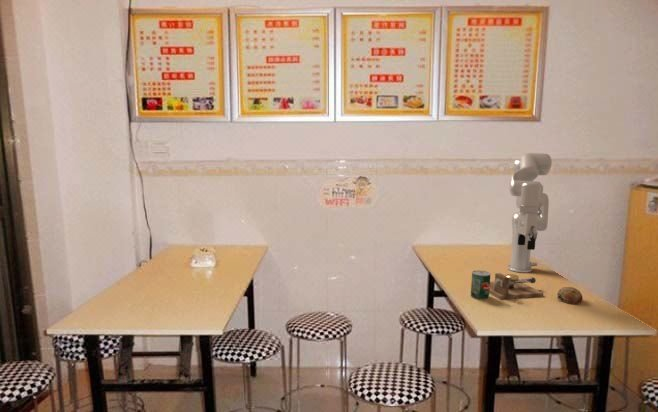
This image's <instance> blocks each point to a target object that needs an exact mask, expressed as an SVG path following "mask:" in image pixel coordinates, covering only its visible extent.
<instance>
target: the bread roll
mask: <svg viewBox="0 0 658 412" xmlns="http://www.w3.org/2000/svg"><path fill="white" fill-rule="evenodd" d="M556 295H557V300H558V301H560V302H562V303H566V304H569V305H579V304H582V302H583V294H582V293H581V291H580V290H578V289H577V288H575V287H572V286H565V287H561V288H560V289H559V290H558V291H557V293H556Z"/></svg>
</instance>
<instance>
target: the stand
mask: <svg viewBox="0 0 658 412" xmlns="http://www.w3.org/2000/svg"><path fill="white" fill-rule="evenodd" d="M505 275H506V274H503V273H498V272H497V273H495V274H494V276H495V277H494V281H490V289H489V295H492V296H493V297H495V298H497V299H499V300H511V299H524V298H538V297H544V292H543V291H541V290H538V289H536V288H534V287H532V286H529V285H528V284H527V283H514V288H511V289H510V288H509V277H507V276H505Z"/></svg>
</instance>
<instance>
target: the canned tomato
mask: <svg viewBox="0 0 658 412" xmlns="http://www.w3.org/2000/svg"><path fill="white" fill-rule="evenodd" d="M490 282H491V272H489V271H486V270H485V271H484V270H472V272H471V282H470V283H471V285H470V297H471V298H472V299H476V300H479V301H480V300H481V301H482V300H484V301H486V300H489V299H490V293H489V289H490ZM485 299H486V300H485Z"/></svg>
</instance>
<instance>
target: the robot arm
mask: <svg viewBox="0 0 658 412" xmlns="http://www.w3.org/2000/svg"><path fill="white" fill-rule="evenodd" d="M552 161H553V160H552V157H551V155H550V154H548V153H543V152H542V153H541V152H540V153H538V152H537V153H536V152H533V153H532V152H528V153H524V154H522V156H521V157H520V158H517V159H515V160H514V161H513V166H512V167H513V168H512V169H513V173H512V175H511V176H510V180H509V193H510V195H511V196H513V197H516V198H515V199H516V200H515V202H516V203H515V204H516V208H518V209H519V211H517V212H515V213H513V215H512V217H511V226H512V237H511V238H512V239H511V251H510V252H511V253H510V254H511V255H510V264H508V265H507V266H506V269H507V270H509V271H512V272H516V273H531V272H533V267H537V266H538V263H537V262H532V261H531V251H532V250H533V251H534V250H535V249H536V241H537V238H538V237H537V236H538V232H544V231H546V230H547V229H548V223H549V221H548V220H549V206H550V205H549V201H550V200H549V195H548V194H546V193H544V185H543V184H542V183H541V182H540V181H537V180H536V179H537V178H538V176H547V175H548V174H549V173H550V170H551V168H552V163H553V162H552ZM534 180H535V181H534Z"/></svg>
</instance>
